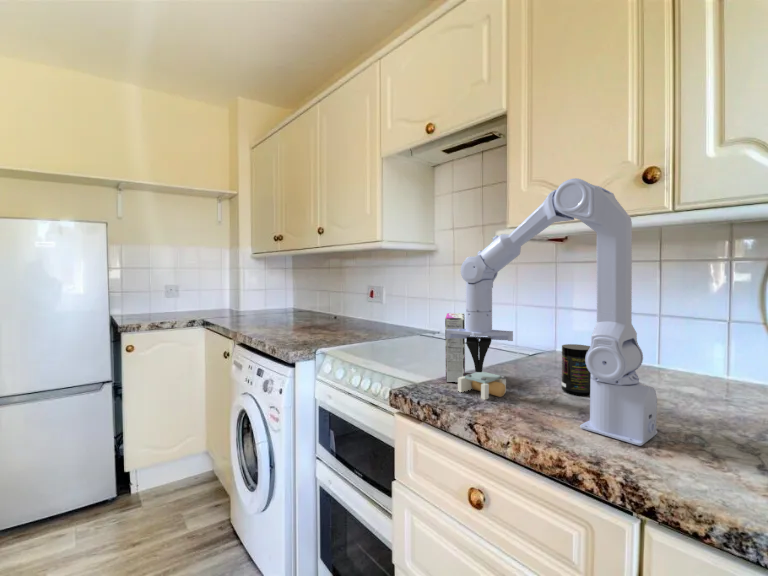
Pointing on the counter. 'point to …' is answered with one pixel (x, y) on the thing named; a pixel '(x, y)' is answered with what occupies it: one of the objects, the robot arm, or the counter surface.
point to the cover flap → (483, 377)
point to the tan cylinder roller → (491, 388)
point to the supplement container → (575, 370)
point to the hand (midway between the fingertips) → (478, 371)
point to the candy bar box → (455, 348)
